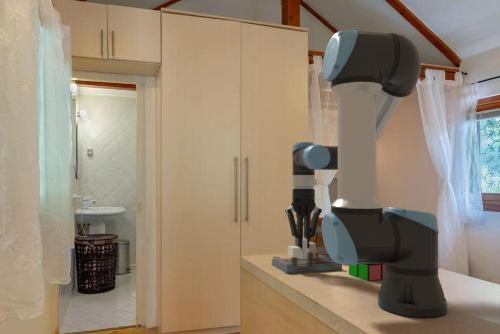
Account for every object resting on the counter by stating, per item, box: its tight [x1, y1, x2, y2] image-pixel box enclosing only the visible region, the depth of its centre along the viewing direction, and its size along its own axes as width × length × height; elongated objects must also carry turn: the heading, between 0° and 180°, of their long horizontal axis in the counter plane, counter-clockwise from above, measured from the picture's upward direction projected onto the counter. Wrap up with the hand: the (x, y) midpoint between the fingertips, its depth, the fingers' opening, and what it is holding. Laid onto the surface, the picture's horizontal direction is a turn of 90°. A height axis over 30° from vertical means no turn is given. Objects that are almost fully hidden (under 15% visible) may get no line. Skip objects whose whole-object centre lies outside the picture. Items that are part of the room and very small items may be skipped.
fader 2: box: [307, 242, 316, 259], centre depth 141 cm, size 4×3×5 cm, turn 17°
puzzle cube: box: [348, 263, 385, 282], centre depth 125 cm, size 10×10×10 cm
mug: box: [293, 217, 330, 257], centre depth 157 cm, size 20×14×15 cm
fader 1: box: [287, 245, 301, 264], centre depth 132 cm, size 4×3×5 cm, turn 17°
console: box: [271, 254, 343, 275], centre depth 137 cm, size 14×20×3 cm
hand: (303, 258), depth 133 cm, fingers closed
